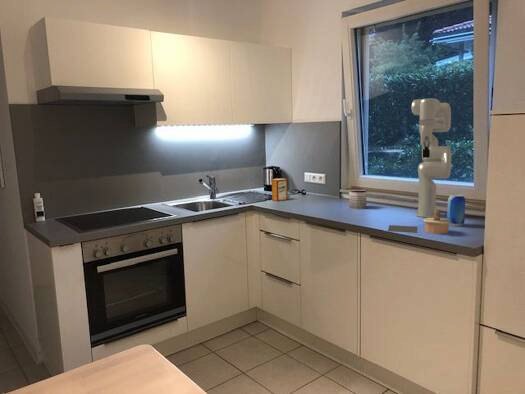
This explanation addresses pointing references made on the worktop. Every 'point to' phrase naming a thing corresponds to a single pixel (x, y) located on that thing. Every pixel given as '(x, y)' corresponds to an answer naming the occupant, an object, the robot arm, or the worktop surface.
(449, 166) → the robot arm
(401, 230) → the mat
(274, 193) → the baking soda box
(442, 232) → the bowl
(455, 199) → the beer can
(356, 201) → the ribbed plant pot
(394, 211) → the worktop surface
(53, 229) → the worktop surface
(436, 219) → the lid
